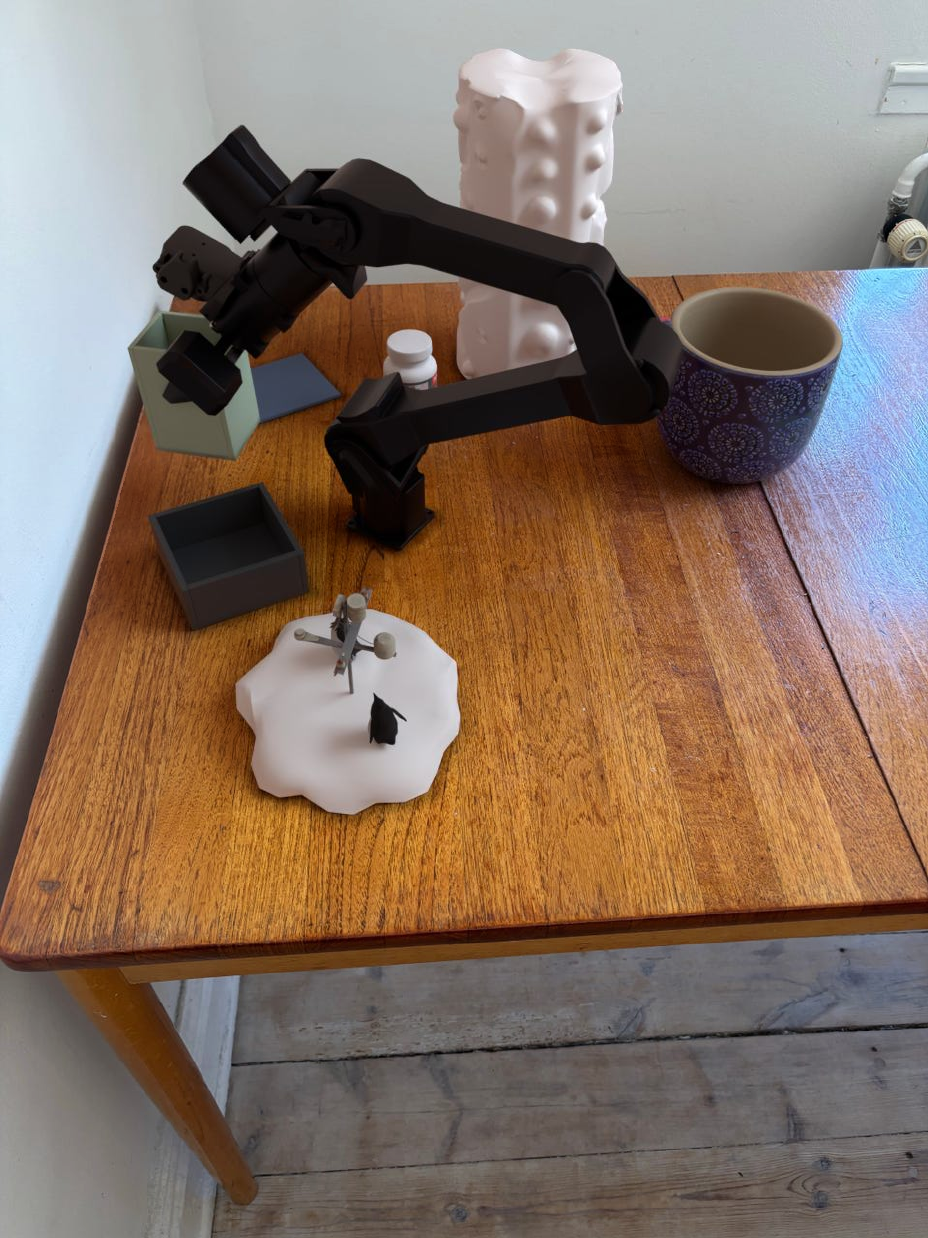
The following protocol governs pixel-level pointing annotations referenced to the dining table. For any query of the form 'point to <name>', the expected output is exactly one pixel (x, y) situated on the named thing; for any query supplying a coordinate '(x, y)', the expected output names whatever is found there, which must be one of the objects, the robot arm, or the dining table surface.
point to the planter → (747, 382)
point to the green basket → (186, 422)
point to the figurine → (350, 708)
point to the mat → (289, 387)
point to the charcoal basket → (229, 555)
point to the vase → (531, 184)
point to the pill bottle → (411, 359)
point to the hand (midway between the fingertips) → (182, 378)
